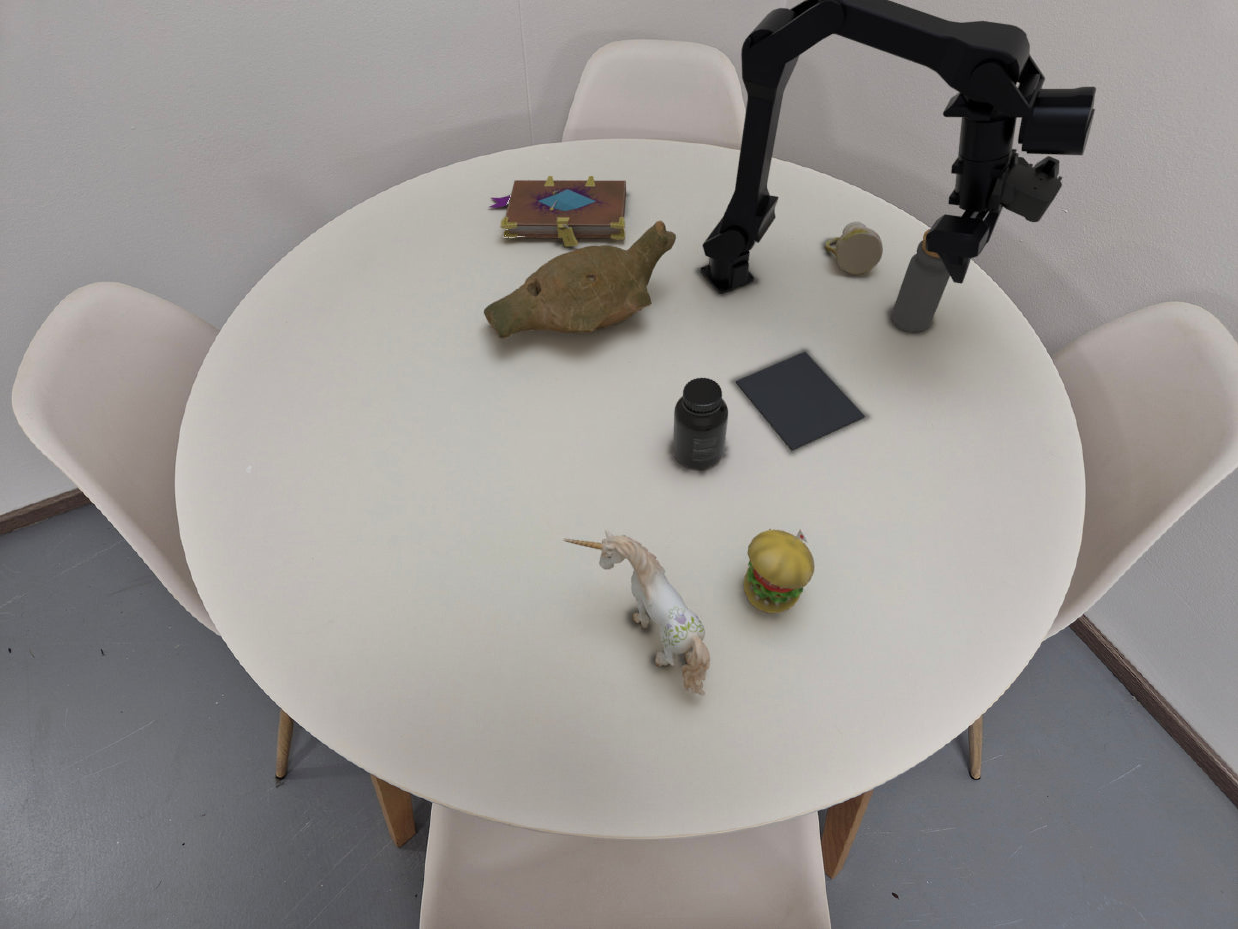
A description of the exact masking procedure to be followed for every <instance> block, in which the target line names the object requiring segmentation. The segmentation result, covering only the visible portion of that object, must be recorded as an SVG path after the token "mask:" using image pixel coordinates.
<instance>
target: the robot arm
mask: <svg viewBox="0 0 1238 929" xmlns="http://www.w3.org/2000/svg"><path fill="white" fill-rule="evenodd" d="M832 35H836V36H839V37H841V38H844V39H847V40H850V41H853V42H856V43H859V44H862V45H864V46H868V47H869V48H872V49H874V50H875V49H876V50H879V51H881V52H883V53H887V54H890V55H892V56H895V57H898V58H901V59H904V60H906V61H908V62H912V63H915V64H918V65H920V66H923V67H926V68H928V69H930V70H931V71H933V72H934V73H936V74H938V76H939V77H940V78H941V79H942V80H943V81H944V82H945V83H946V85H947V86H949V88H951V89H953V90H954V91H956V92H958V93H956V94H955V95H953V96H951V98H950V99H949V101H948V103H947V105H946V107H945V108H944V110H943V112H942V116H943V117H944V118H961V120H960V132H959V144H958V152H957V153H958V155H957V157H956V159H955V160H954V161H953V163H952V164H951V169H950V173H951V174H953V175H955V185H954V189H953V190H952V192H951V193H950V195H949V196H948V201H947V202H948V205H951V206H958V208H959V209H960V210H963V211H964V212H963V213H962V214H961V215H953V214H946V213H945V214H943V215H941V216H940V217H939V218H937V219H936V220H935V222H934V223H933V224H932V226H931V227H930V228H929V229H930V230H929V229H928V230H929V232H928V233H927V234H926V242H925V249H926V250H927V251H928V252H935V253H937V254H938V256H939V257H940V259H941V260H942V262H943V264H944V265H945V267H946V269H947V271H948V273H949V274H950V278H951V280H952V282H953V283H955V284H963V283H964V281H965V279H966V275H967V273H968V270H969V267H970V263H971V260H972V259H974V258H977V257H978V256H979V255H980V254H981V253H982V252H983V250H984V248H985V247H986V245H987V244H988V243H989V242H990V239H991V237H992V235H993V233H994V230H995V228H996V226H997V223H998V221H999V218H1000V216H1001V213H1002V211H1003V209H1005V210H1007V211H1009V212H1012V213H1014V214H1015V215H1018V216H1021V217H1022V218H1024V220H1026V221H1027V222H1031V223H1038V222H1040V221H1041V219H1042V218H1043V216H1044V215H1045V213H1046V212H1047V210H1048V209H1049V207H1050V206H1051V204H1052V203H1053V201H1055V198H1056V197H1057V195H1058V193H1059V192H1060V190H1061V189H1062V186H1063V183H1062V180H1063V176H1061V175H1059V174H1060V160H1059V159H1057V158H1055V157H1052V156H1051V155H1053V156H1054V155H1056V156H1058V155H1059V156H1084V153H1085V150H1086V147H1087V143H1088V141H1089V136H1090V133H1091V128H1092V124H1093V121H1094V115H1095V111H1096V108H1094V105H1095V102H1096V100H1095V97H1096V92H1097V88H1096V86H1080V87H1074V88H1043V86H1044V84H1045V81H1046V76H1045V75H1044V74H1043V72H1042V71H1041V69H1040V68H1039V66H1038V65H1037V63H1036V62H1035V60H1034V59H1033V57H1032V56H1031V54H1030V53H1031V52H1030V51H1031V45H1030V41H1029V38H1028V35H1027V33H1026V32H1025V31H1024V30H1023V29H1022V28H1021V27H1019V26H1017V25H1013V24H1009V23H1008V24H1007V23H1002V22H1001V23H1000V22H994V21H987V20H976V21H975V20H974V21H964V22H963V21H962V22H959V21H952V20H949V19H945V18H941V17H939V16H936V15H933V14H930V13H927V12H926V11H925V12H924V11H922V10H919V9H916V8H913V7H909V6H907V5H905V4H901V3H898V2H895V1H892V0H803V1H801V2H799V3H797V4H796V5H795V6H793V7H791V8H787V7H778V8H775V9H772V10H771V11H770V12H768V13H767V15H765V16H764V17H763V19H762V20H761V21H760V22H759V23H758V24H757V25H756V26H755V27H754V29H753V30H752V31H751V32H750V33H749V34H748V35H747V37H745V39H744V41H743V43H742V46H741V52H740V57H741V58H740V59H741V79H742V82H743V86H744V88H745V91H746V94H747V100H746V107H745V114H744V120H743V121H744V122H743V129H742V136H741V143H740V148H739V151H740V152H739V157H738V165H737V172H736V178H735V185H734V186H735V187H734V191H733V194H732V196H731V198H730V200H729V203H728V205H727V206H726V209H725V211H724V214H723V216H722V217H721V218H720V220H719V221H718V223H717V224H716V225H715V227H714V228H713V230H712V231H711V232H710V234H709V235H708V236H707V238H706V239H705V240H704V242H703V243H702V249H703V253H704V256H705V257H707V258H708V264H706V265H704V266H702V267H700V270H699V271H700V273H701V274H702V275H703V276H704V278H705V279H706V280H707V281H708V282H709V283H710V285H712V287H713V288H714V289H715V290H716V291H717V292H718V293H719V294H724V293H726V292H729V291H732V290H735V289H737V288H740V287H742V286H744V285H747V284H750V283H753V282H754V281H755V276H754V275H753V274H752V273H751V272H750V270H749V269H750V268H749V267H750V266H749V265H750V262H749V260H750V254H751V251H752V249H753V248H754V247H755V245H756V244H759V243H760V242H761V240H762V239H763V238H764V236H765V234H766V233H767V231H768V230H769V228H770V227H771V226H772V223H774V221H775V219H776V213H775V212H776V206H777V204H778V201H779V196H778V195H771V194H770V191H769V189H768V183H769V182H768V181H769V176H770V171H771V165H772V159H773V154H774V148H775V142H776V136H777V131H778V125H779V120H780V114H781V108H782V104H783V102H782V101H783V97H784V92H785V90H786V87H787V85H788V83H789V80H790V79H791V76H792V75H793V72H794V70H795V68H796V66H797V63H798V61H799V58H800V55H802V54H803V53H805V52H807V51H808V50H809V49H811V48H813V47H814V46H815V45H817V44H818V43H819V42H821V41H823V40H824V39H827V38H828V37H830V36H832ZM1017 83H1018V85H1017ZM1019 118H1020V119H1021V120H1020V125H1019V131H1018V136H1017V144H1018V145H1021V152H1026V154H1027V155H1047V156H1046V157H1044V158H1043V159H1041V160H1039V161H1038V162H1036V163H1035V164H1033V163H1029V162H1028V161H1027V160H1026V159H1025V158H1024V157H1023V156H1020V155H1019V153H1018V152H1017V150H1018V149H1017V148H1013V146H1014V140H1015V134H1016V126H1017V119H1019Z"/></svg>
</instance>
